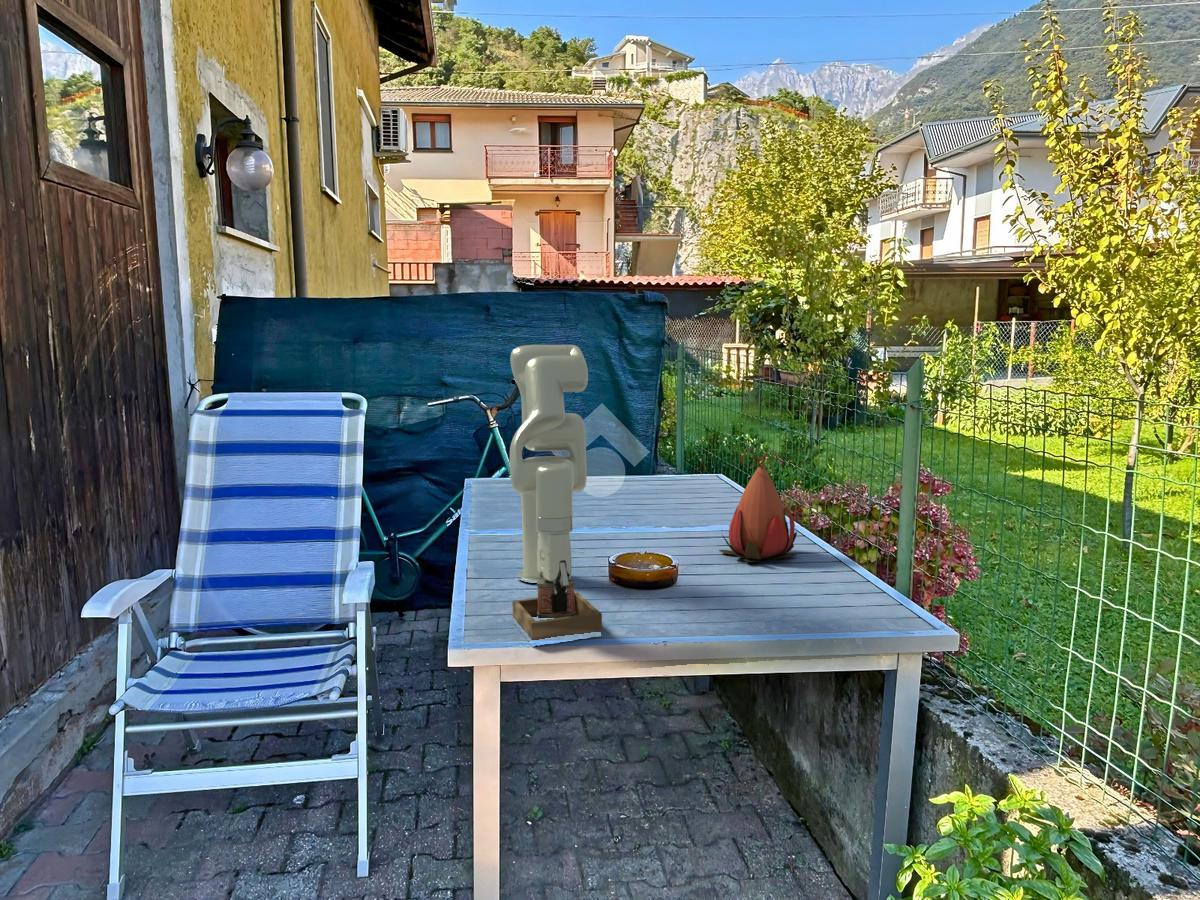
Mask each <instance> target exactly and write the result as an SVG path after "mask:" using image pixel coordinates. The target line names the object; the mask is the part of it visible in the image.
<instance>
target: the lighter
mask: <svg viewBox="0 0 1200 900" xmlns="http://www.w3.org/2000/svg"><path fill="white" fill-rule="evenodd" d="M540 577H544V576H542V571H540ZM556 579H560V576H557V578H556ZM568 582H569V586H568V587H567V611H565V612H558V613H553V612H552V594H553V584H552V582H550V581H548V580H547V579H546V580H539V581H537V584H536V587H537V598H538V612H537V616H538V618H561V617H569V616H576V611H575V601H574V593H575V585H576V580H575V579H571V578H570V579H568ZM556 584H557V585H558V584H560V582H556Z"/></svg>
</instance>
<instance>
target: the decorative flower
mask: <svg viewBox="0 0 1200 900" xmlns="http://www.w3.org/2000/svg"><path fill="white" fill-rule="evenodd" d="M748 452H750V453H751V452H752V453H755V454H756V456H755V457H754V461H753V467H754V468H755V467H756V459H757V458H758V462H759V466H758V467H757V469H756V470H755V471H754V473H753V474H752V476H751V478H750V480H749V481H748V483H747V485H746V486H745V489H744V490H743V493H742V495H741V497H740V499H739V502H738V505H737V506H736V508H735V511H734V512H733V516H732V518H731V520H730V524H729V529H728V540H727V539H726V537H725V536H724V535H723V534H722V532H721V536H722V538H723V540H724V541H725V542H726V544H727V546H728V547H729V550H728V549H718V551H719V552H721V553H723V554H726V555H727V554H728V555H734V556H736V557H739V558H743V561H745V562H749V563H757V562H758V563H759V562H762V559H771V560H776V559H787V558H792V557H793V558H794V557H796V556H798V554H797V553H793V552H792V553H789V552H790V551H791V550H793V548H794V546H795V544H794V542H795V540H797V539H796V538H797V533H798V532H797V531H796V532H795V529H796V527H795V519H794V515H793V514H792V511H791V510H790V509H789V508H788V506H787V505H785V510H786V513H785V510H784V506H783V503H782V499H781V498H780V496H779V492H778V490H777V487H776V486H775V484H774V481H773V480H772V477H771V475H770V474H769V472H768V471H767V468H766V467H764V466H765V461H766V459H767V457H768V456H770V454H774V455H775V462H779V458H778V455H779V457H780V458H781V459H780V460H781V466H782V467H783V466H784V461H783V456H782V455H781V454H780V453H779V452H777V451H774V450H773V449H770V450H768V451H766V452H765V453H764V454H763V455H762V456H761V458H760V457H759V454H757V452H755V451H754V450H747V451H746V452H744V454H743V455H742V457H741V458H740V463H741V464H743V462H744V460H743V459H744V457H745V455H746V454H747V453H748ZM768 452H769V453H768ZM767 453H768V454H767ZM777 454H778V455H777ZM786 514H787V516H788V517H787V518H788V520H789V524H788V522H787V519H786ZM788 525H789V526H788Z"/></svg>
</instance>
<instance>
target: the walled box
mask: <svg viewBox="0 0 1200 900" xmlns="http://www.w3.org/2000/svg"><path fill="white" fill-rule="evenodd" d="M574 601H575V611H576V616H569V617H561V618H554V619H547V620H540V621H535V620H534V619H533V618H532V617H537V612H538V597H532V598H525V599H516V600H512V619H513V618H514V619H515V620H516V621H517V623H518V624H519V625H520V626H521V627H522V629H523V630H524V631H525V632H526V633H527V634H528V636H529V637H530V638H531V640H539V639H545V638H551V637H557V636H565V635H574V634H584V633H591V632H601V631H602V632H603V613H602V612H601V611H599V610H598V609H597V608H596V606H594V605H592V603H591V602H589V601H588V599H586V598H585V597H583V595H581V594H580V593H579V592H574Z"/></svg>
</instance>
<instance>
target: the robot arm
mask: <svg viewBox="0 0 1200 900" xmlns="http://www.w3.org/2000/svg"><path fill="white" fill-rule="evenodd" d="M509 357H510V360H509V361H510V369H511V372H512V375H513V379H514V381H515V383H516V385H517V387H518V390H519V394H520V398H521V399H520V400H521V401H520V402H521V425H520V426H519V427H518V428H517V430H516V431H515V433H514V435H513V436H512V440H511V442H510V447H509V473H510V475H509V476H510V484H511V486H512V489H513V491H515V492H516V493H518V494H520V501H521V520H522V521H521V524H522V525H521V529H522V569H521V570H520V571H519V572H523V573H518V572H517V574H518V576H519V577H521V578H522V579H525V580H529V581H539V580H546V579H547V580H548V581H550V582H552V584H553V594H552V612H553V613H558V612H565V611H567V587H568V586H569V582H568V579H571V577H572V569H573V567H572V565H573V564H572V563H573V562H572V547H571V546H572V545H571V537H570V533H571V532H573V530H574V529H573V523H574V521H573V520H574V518H573V517H574V516H573V494H574V493H580V492H582V491H583V490H584V489H585V488H586V484H587V479H588V478H587V477H588V475H587V474H588V472H587V471H588V469H587V467H588V466H587V436H586V435H587V434H586V426H585V423H584V419H583V418H582V417H581V415H580V414H577V413H572V412H568V413H567V412H566V410H565V400H564V393H575V392H576V393H579V392H583V391H584V390H585V389H586V388H587V387H588V384H589V383H588V381H589V370H588V365H587V362H586V361H587V360H586V359H585V357H584V354H583V351H582V350H581V348H580V347H579V346H577V345H575V344H528V345H526V344H525V345H520V346H517V347H516V348H513V349H512V351H511V352H510V356H509ZM524 447H525V449H527V450H529V451H531V452H557V451H559V452H561V451H563V452H566V453H567V454H568V455H555V456H554V455H543V456H542V455H541V456H532V457H531V456H530V457H527V458H525V459H524V458H523V450H524ZM540 571H542V576H544V577H540ZM557 576H560V579H556V578H557ZM526 578H528V579H526ZM556 582H560V584H558V585H557V584H556Z"/></svg>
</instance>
